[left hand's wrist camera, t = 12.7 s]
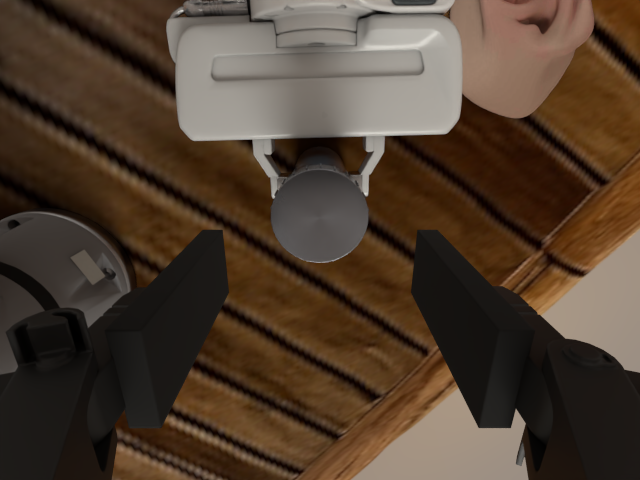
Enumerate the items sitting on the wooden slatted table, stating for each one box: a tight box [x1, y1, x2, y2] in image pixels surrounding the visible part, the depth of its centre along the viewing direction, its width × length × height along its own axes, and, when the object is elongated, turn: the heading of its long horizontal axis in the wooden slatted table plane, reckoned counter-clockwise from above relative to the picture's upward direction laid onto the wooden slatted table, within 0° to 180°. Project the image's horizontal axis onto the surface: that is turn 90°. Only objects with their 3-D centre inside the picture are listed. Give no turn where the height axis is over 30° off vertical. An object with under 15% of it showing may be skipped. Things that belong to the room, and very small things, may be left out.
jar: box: [293, 146, 346, 172], centre depth 27 cm, size 5×5×15 cm
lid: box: [271, 163, 369, 263], centre depth 20 cm, size 6×6×2 cm
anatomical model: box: [450, 0, 594, 118], centre depth 28 cm, size 13×4×12 cm
